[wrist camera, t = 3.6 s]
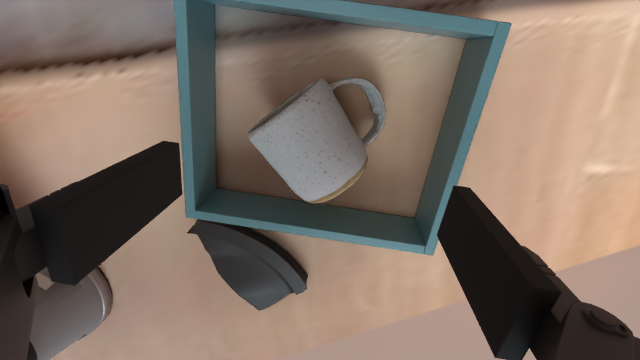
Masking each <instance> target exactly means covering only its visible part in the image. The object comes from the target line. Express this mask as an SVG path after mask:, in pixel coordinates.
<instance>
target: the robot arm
mask: <svg viewBox="0 0 640 360" xmlns="http://www.w3.org/2000/svg"><path fill="white" fill-rule="evenodd" d="M181 195H182V184H181V167H180V151H179V143H174V142H168V141H162V142H160V143H158V144H156V145H154V146H152V147H150V148H148V149H145V150H143V151H141V152H139V153H137V154H135V155H133V156H131V157H129V158H127V159H125V160H122V161H120V162H118V163H116V164H114V165H112V166H110V167H108V168H106V169H104V170H102V171H100V172H97V173H95V174H93V175H91V176H89V177H87V178H85V179H83V180H81V181H78V182H74V183H72V184H70V185H68V186H66V187H64V188H61V190H57V191H55V192H53V193H51V194H50V195H47V196H45V197H43V198H40V199H38V200H36V201H34V202H32V203H30V204H28V205H26V206H24V207H21V208H19V209H17V210H15V208H14V205H13V202H12V198H11V195H10V192H9V189H8V186H6V185H4V184H0V360H49V359H51V358H52V357H54V356H55V355H56V354H58V353H59V352H61V351H62V350H64V349H65V348H67V347H68V346H69V345H71V344H72V343H74V342H75V341H77V340H80V339H82V338H84V337H85V336H87V335H89V334H90V333H91V332H92V331H94V330H95V329H96V328H97V327H98V326H99V325H100V324H101V323H102V322H103V320H104V319H105V318H106V317H107V316H108V314H109V312H110V310H111V306H112V295H111V291H110V288H109V285H108V283H107V281H106V279H105V278H104V276H103V275H102V273H101V272H100V271H99V269H98V268H97V267H98V266H99V265H100V264H101V263H102V262H103V261H105V260H106V259H107V258H108V257H109V256H110V255H112V254H113V253H114V252H115V251H116V250H117V249H119V248H120V247H121V246H122V245H123V244H124V243H126V242H127V241H128V240H129V239H130V238H132V237H133V236H134V235H135V234H136V233H137V232H139V231H140V230H141V229H142V228H143V227H144V226H146V225H147V224H148V223H149V222H150V221H151V220H153V219H154V218H155V217H156V216H157V215H159V214H160V213H161V212H162V211H163V210H164V209H166V208H167V207H168V206H169V205H170V204H171V203H173V202H174V201H175V200H176V199H177V198H178V197H180V196H181ZM437 237H438V239H439V241H440V243H441V245H442V247H443V249H444V251H445V253H446V256H447V258H448V260H449V262H450V264H451V266H452V268H453V270H454V272H455V274H456V277H457V279H458V281H459V283H460V285H461V287H462V289H463V291H464V293H465V296H466V298H467V300H468V302H469V304H470V306H471V308H472V310H473V312H474V314H475V316H476V319H477V321H478V323H479V325H480V327H481V329H482V331H483V333H484V335H485V337H486V340H487V342H488V344H489V346H490V348H491V350H492V352H493V354H494V356H495V358H500V359H506V360H522V359H523V357H524V356H525V354H526V352H527V351H528V349H529V348H530V349H531V351H532V353H533V354H534V356H535V358H536V359H537V360H640V339H639V338H636V337H634V336H633V333H632V331H631V330H630V329H629V328H628V327H627V326H626V325H625V324H624V323H623V322H622V321H621V320H619V319H618V318H617V317H615V316H614V315H612V314H611V313H609V312H607V311H605V310H604V309H601V308H599V307H597V306H594V305H592V304H588V303H584V302H581V301H580V300H579V299H578V298H577V297H576V296H575V295H574V294H573V293H572V291H571V290H570V289H569V288H568V287H567V286H566V285H565V284H564V283H563V282H562V281H561V280H560V279H559V278H558V277H557V276H556V274H555V273H554V272H553V271H552V270H551V269H550V268H548V266H547V264H546V263H545V262H544V261H543V260H542V259H541V258H540V257H539V256H538V255H537V254H535V253H534V252H532V251H531V250H529V249H528V248H527V247H525V246H521V245H520V244H519V243H518V242H517V241H516V240H515V238H514V237H513V236H512V235H511V234H510V233H509V232H508V230H507V229H506V228H505V227H504V226H503V225H502V224H501V223H500V221H499V220H498V219H497V218H496V217H495V216H494V215H493V214H492V212H491V211H490V210H489V209H488V208H487V207H486V206H485V204H484V203H483V202H482V201H481V200H480V199H479V198H478V197H477V195H476V194H475V193H474V192H473V191H472V190H471V189H470V188H467V187H461V186H454V185H453V188H452V191H451V194H450V197H449V200H448V203H447V206H446V209H445V212H444V215H443V218H442V221H441V224H440V227H439V230H438V233H437Z"/></svg>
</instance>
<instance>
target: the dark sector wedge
mask: <svg viewBox="0 0 640 360" xmlns="http://www.w3.org/2000/svg"><path fill="white" fill-rule="evenodd" d="M187 233H192V234H197V235H198V236H199V238H200V239H201V241H202V243H203V245H204V247H205V249H206V251H207V252H208V253H209V254H210V256H211V258H212V261H213V263H214V265H215V267H216V269H217V272H218V273H219V274H220V275H221V277H222V278H223V279H224V280H225V282H226V283H227V284H228V285H229V286H230V287H231V288H232V289H233V290H234V291H235V292H236V293H237V294H238V295H239V296H240V297H242V298H243V299H245V300H246V301H247V302H248V303H250V304H251V305H253V306H254V307H255V308H256V309H258V310H263V309H265V308H267V307H269V306H271V305H273V304H275V303H277V302H278V301H280V300H281V299H283V298H284V297H286V296H287V295H289V294H291V293H295V294H299V293H302V292H304V291H305V290H306V289H307V286H306V281H307V278H308V276H307V274H306V272H305V271H304V270H303V269H302V267H301V266H300V265H299V264H298V263H297V262H296V260H295V259H293V257H292V256H291V255H290V254H289V253H288V252H287V251H285V250H284V249H283V248H282V247H280V246H279V245H278V244H277V243H275V242H274V241H272V240H271V239H269V238H267V237H266V236H264V235H262V234H260V233H258V232H256V231H254V230H252V229H250V228H248V227H245V226H239V225H233V224H226V223H220V222H213V221H207V220H200V219H198V220H197V221H196V223H195V225H194V226H192V228H191V229H190V230H189V231H188V232H187Z"/></svg>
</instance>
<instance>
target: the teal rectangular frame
mask: <svg viewBox="0 0 640 360" xmlns="http://www.w3.org/2000/svg"><path fill="white" fill-rule="evenodd" d="M215 5H222V6H229V7H236V8H243V9H251V10H258V11H265V12H273V13H280V14H287V15H294V16H302V17H309V18H316V19H323V20H331V21H338V22H345V23H352V24H360V25H367V26H374V27H382V28H389V29H396V30H403V31H411V32H418V33H425V34H432V35H440V36H447V37H454V38H461V39H467V41H466V44H465V47H464V51H463V54H462V58H461V61H460V65H459V68H458V71H457V75H456V78H455V82H454V85H453V88H452V92H451V95H450V99H449V102H448V106H447V109H446V112H445V116H444V119H443V123H442V126H441V130H440V133H439V136H438V140H437V143H436V147H435V150H434V154H433V157H432V160H431V164H430V167H429V171H428V174H427V177H426V181H425V184H424V188H423V191H422V195H421V198H420V201H419V205H418V208H417V212H416V215H415V219H414V218H410V217H403V216H396V215H390V214H383V213H377V212H370V211H364V210H357V209H351V208H344V207H337V206H331V205H324V204H318V203H308V202H305V201H298V200H292V199H285V198H278V197H272V196H265V195H259V194H252V193H246V192H239V191H233V190H226V189H219V188H216V106H215ZM174 13H175V31H176V49H177V66H178V84H179V102H180V120H181V138H182V156H183V174H184V192H185V210H186V217H188V218H194V219H195V218H196V219H200V220H207V221H213V222H220V223H226V224H233V225H239V226H245V227H252V228H258V229H265V230H271V231H278V232H284V233H291V234H297V235H303V236H310V237H316V238H323V239H329V240H336V241H342V242H349V243H355V244H361V245H368V246H374V247H381V248H387V249H394V250H400V251H407V252H413V253H419V254H426V255H433V254H434V251H435V248H436V245H437V242H438V237H437V233H438V230H439V227H440V224H441V221H442V218H443V215H444V212H445V209H446V206H447V203H448V200H449V197H450V194H451V191H452V188H453V185H454V186H457V184H458V181H459V178H460V175H461V172H462V169H463V166H464V163H465V160H466V157H467V154H468V151H469V148H470V145H471V142H472V139H473V136H474V133H475V130H476V128H477V125H478V122H479V119H480V116H481V113H482V110H483V107H484V104H485V101H486V98H487V95H488V92H489V89H490V86H491V83H492V80H493V77H494V75H495V72H496V69H497V66H498V63H499V60H500V57H501V54H502V51H503V48H504V45H505V42H506V39H507V36H508V33H509V30H510V27H511V23H507V22H500V21H499V22H498V21H492V20H485V19H478V18H470V17H463V16H456V15H448V14H441V13H434V12H426V11H419V10H411V9H404V8H397V7H389V6H382V5H375V4H367V3H360V2H353V1H345V0H174Z"/></svg>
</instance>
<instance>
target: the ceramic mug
mask: <svg viewBox="0 0 640 360" xmlns="http://www.w3.org/2000/svg"><path fill="white" fill-rule="evenodd" d="M344 84H357V85H359V86H361V88H362V89H364V91H365V93H366V95H367V97H368V99H369V101H370V103H371V106H372V112H373V113H374V114H375V120H374V123H373V126H372V128H371V130H369V132H368V134H367V135H366V136H365V137H364V138H363V139H360V137H359V136H358V134H357V132H356V131H355V129H354V128H353V126H352V125H351V123H350V121H349V120H348V118H347V116H346V115H345V113H344V111H343V109H342V107H341V105H340V104H339V102H338V101H337V99H336V97H335V95H334V93H333V90H334V89H335V88H336V87H338V86H341V85H344ZM385 115H386V110H385V104H384V100H383V98H382V96H381V94H380V92H379V90H378V89H377V88H376V86H375V85H374V84H373V83H371V82H370V81H368V80H366V79H362V78H346V79H342V80H340V81H337V82H334V83H332V84H330V85H328V83H327V82H326V80H325V79H324V78H321V79H319V80H317V81H315V82H313V83H312V84H310V85H308V86H307V87H305V88H304V89H302V90H301V91H300V92H298V93H297V94H295V95H294V96H292V97H291V98H289V99H288V100H287V101H285V102H284V103H282V104H281V105H280V106H279V107H277V108H276V109H275V110H273V111H272V112H271V113H269V114H268V115H267V116H266V117H264V118H263V119H262V120H261V121H260V122H259V123H257V124H256V125H255V126H254V127H253V128H252V129H251V130H250V131H249V132H248V134H247V137H248V139H249V140H250V141H251V142H252V144H253V145H254V146H255V147H256V148H257V149H258V150H259V151H260V153H261V154H262V155H263V156H264V157H265V159H266V160H267V161H268V162H269V163H270V164H271V166H272V167H273V168H274V169H275V170H276V171H277V172H278V174H279V175H280V176H281V177H282V178H283V179H284V180H285V182H286V183H287V184H288V185H289V187H290V188H291V189H292V190H293V191H294V192H295V193H296V194H297V195H298V196H299V197H301V198H302V199H303V200H304V201H306V202H308V203H321V202H325V201H328V200H330V199H333V198H334V197H336V196H338V195H340V194H341V193H343V192H344V191H345V190H347V189H348V188H349V187H350V186H352V185H353V184H354V183H355V182H356V181H357V180H358V179H359V178H360V177H361V175H362V174H363V172H364V170H365V168H366V165H367V162H368V156H367V153H366V150H365V146H367V145H368V144H370V143H371V142H372V141H374V139H375V138H376V137H377V136H378V135H379V133H380V131H381V130H382V128H383V126H384V122H385Z"/></svg>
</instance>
